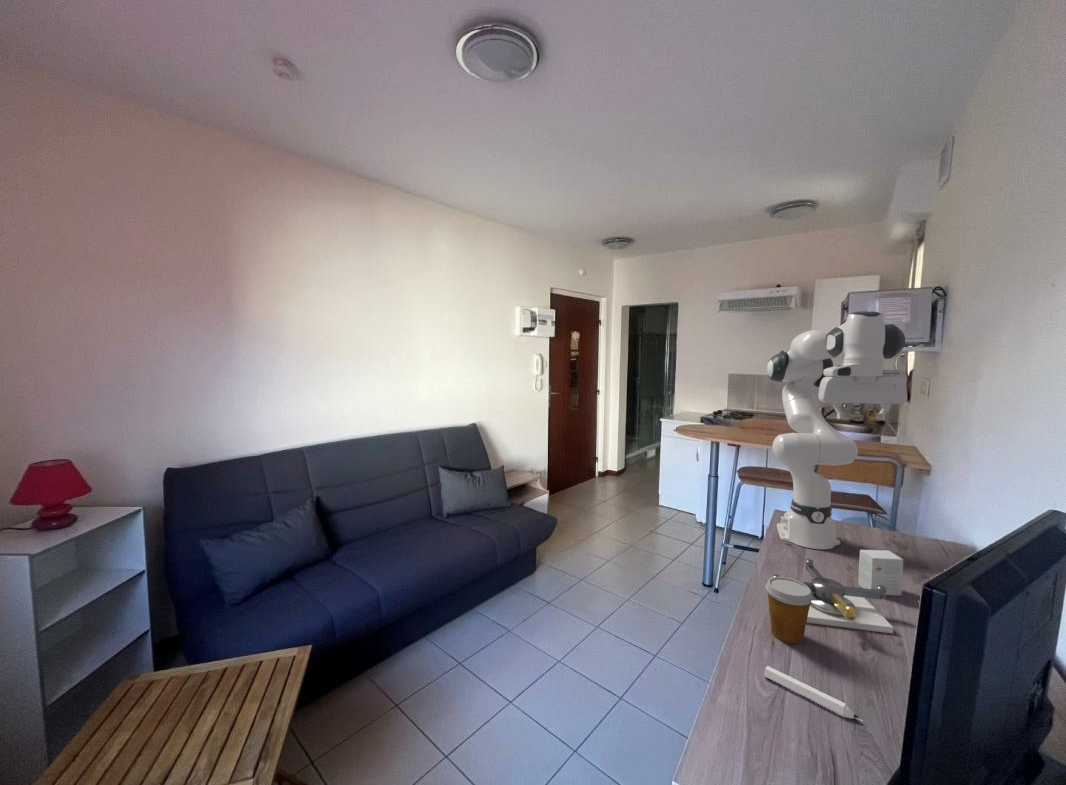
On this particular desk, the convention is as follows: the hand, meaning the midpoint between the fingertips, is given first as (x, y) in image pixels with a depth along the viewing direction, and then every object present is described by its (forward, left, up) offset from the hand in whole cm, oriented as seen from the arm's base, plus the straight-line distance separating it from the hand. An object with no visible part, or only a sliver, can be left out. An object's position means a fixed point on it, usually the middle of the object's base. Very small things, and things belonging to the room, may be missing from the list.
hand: (860, 419), depth 118 cm
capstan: (+14, -12, -46) cm, 50 cm away
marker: (+49, -28, -48) cm, 74 cm away
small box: (+1, +6, -48) cm, 49 cm away
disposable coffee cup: (+29, -26, -48) cm, 62 cm away
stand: (+14, -12, -48) cm, 51 cm away
